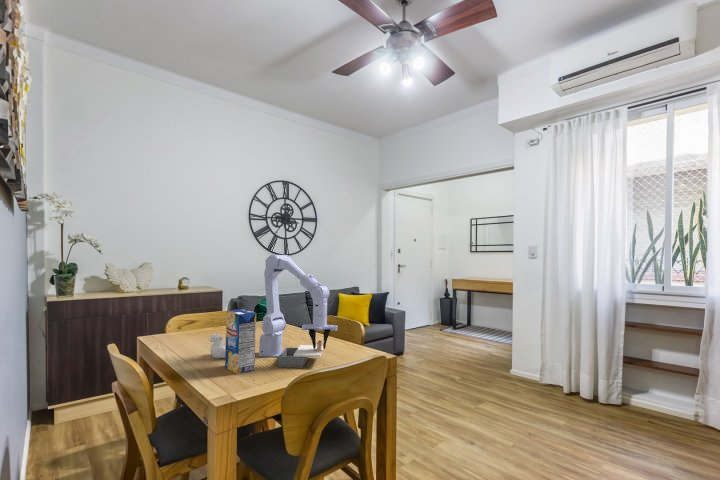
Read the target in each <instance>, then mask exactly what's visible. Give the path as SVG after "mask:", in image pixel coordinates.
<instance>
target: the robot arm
mask: <svg viewBox="0 0 720 480" xmlns="http://www.w3.org/2000/svg"><path fill="white" fill-rule="evenodd" d="M264 261H265V267H264V272H263V273H264V275H263V276H264V288H265V303H266V314H265V315H264V316H263V317H262V325H261V329H262V332H263V333H261V334H260V336H259V349H258V352H259V353H258V357H270V358H271V357H277V358H278V356H279V355H280V354H281V352H282V351H283V333H284V330H285V329H286V327H287V322H286V320H285V317H284V313H282V312H281V309H280V299H279V298H280V296H279V294H280V293H279V282H278V275H280V274H281V272H283V271H285V270H286V271H288V272H289V273H291V274H292V275H293V276H294V277H295V278H296V279H298V280H299V282H300V286H302V287H303V288H304V289H305V290H306V291H307V292H308V293H310V298H312V303H313V304H312V305H313V306H312V324H302V326H301V331H308V335H309V337H310V340H311V343H312V345H313V348H316V345H317V342H316V339H317V337H316V335H317V331H323V342H322V344H323V350H325V349H326V347H327V346H326V345H327V341H328V338H329V335H330V333H331V331H334V332H337V331H338V325H335V324H328V298H329V297H330V295H331V290H330V288H329V287H328V285H326V284H322V283H321V281H318V280H317V279H316V278H315V276H314V275H313V274H310V273H307V274H306V273H305V272H304V271H303V270H302V269H301V268H300V267H299V266H298V265H297V264H296V263H295V261H294V260H293V258H292V257H290V256H289V255H287V254H270V255H269V256H268V257H267V258H266V259H265V260H264Z"/></svg>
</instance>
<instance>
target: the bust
mask: <svg viewBox="0 0 720 480" xmlns="http://www.w3.org/2000/svg"><path fill="white" fill-rule="evenodd" d="M223 339H224V337H223V336H222V335H220V334H219V333H214V334H211V335H210V338H209V342H211V343H212V345H211V346H210V350H209V351H210V355H211V356H212V357H213V358H214V359H225V351H226V343H223V342H222V341H223Z"/></svg>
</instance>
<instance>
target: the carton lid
mask: <svg viewBox="0 0 720 480" xmlns="http://www.w3.org/2000/svg"><path fill="white" fill-rule="evenodd" d="M322 344H323V342H322V339H318V341H317V342H316V348H313V344H299V346H298V347H297V348H298V349H297V350H296V352H295V353H294V357H308V358H320V357H322V353H323V351H324V349H323V345H322Z"/></svg>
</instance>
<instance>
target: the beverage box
mask: <svg viewBox="0 0 720 480" xmlns="http://www.w3.org/2000/svg"><path fill="white" fill-rule="evenodd" d="M225 320H226V321H225V346H226V351H225V358H224V359H225V360H224V367H225V369H227V370H229V371H231V372H233V373H235V374H236V375H241V374H244V373H249V372H254V371H256V370H255V366H256V365H255V364H256V363H255V362H256V330H257V328H256V326H257V325H256V323H257V312H255V311H252V310H248V309H245V308H240V309H230V310H226V319H225Z"/></svg>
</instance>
